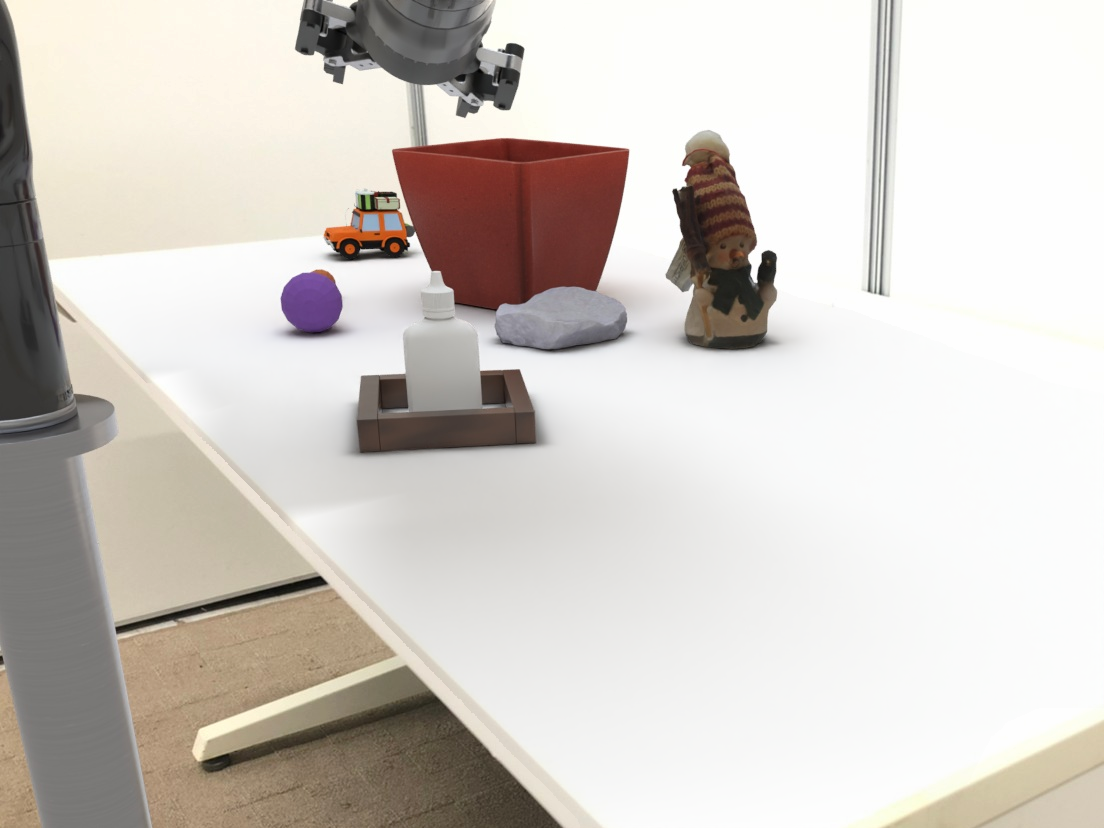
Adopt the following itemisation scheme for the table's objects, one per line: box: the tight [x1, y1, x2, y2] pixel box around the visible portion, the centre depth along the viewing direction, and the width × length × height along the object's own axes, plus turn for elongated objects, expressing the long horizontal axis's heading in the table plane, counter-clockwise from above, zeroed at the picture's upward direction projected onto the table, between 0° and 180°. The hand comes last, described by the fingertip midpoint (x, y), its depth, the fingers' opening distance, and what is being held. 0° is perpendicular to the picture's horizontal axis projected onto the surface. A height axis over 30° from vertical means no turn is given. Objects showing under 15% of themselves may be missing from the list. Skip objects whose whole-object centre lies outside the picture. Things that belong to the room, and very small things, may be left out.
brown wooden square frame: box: [356, 368, 537, 453], centre depth 101 cm, size 13×13×2 cm
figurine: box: [665, 129, 778, 350], centre depth 127 cm, size 13×12×20 cm
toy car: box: [322, 188, 416, 260], centre depth 170 cm, size 7×12×9 cm, turn 121°
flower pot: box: [391, 137, 630, 311], centre depth 143 cm, size 19×19×17 cm
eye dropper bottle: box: [402, 271, 483, 412], centre depth 99 cm, size 4×6×12 cm
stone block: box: [494, 287, 628, 350], centre depth 129 cm, size 12×5×10 cm
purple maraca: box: [279, 268, 344, 333], centre depth 135 cm, size 6×6×20 cm
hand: (401, 86), depth 90 cm, fingers open, 8 cm apart
